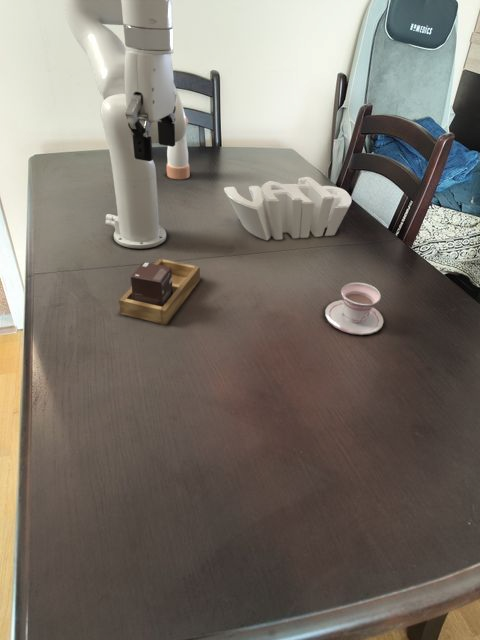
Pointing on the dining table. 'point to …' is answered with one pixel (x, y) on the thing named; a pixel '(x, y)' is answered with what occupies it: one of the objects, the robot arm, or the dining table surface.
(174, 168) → the pepper shaker
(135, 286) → the box
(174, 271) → the wooden tray
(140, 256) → the dining table surface
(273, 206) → the wavy white extrusion
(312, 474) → the dining table surface
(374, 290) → the teacup
